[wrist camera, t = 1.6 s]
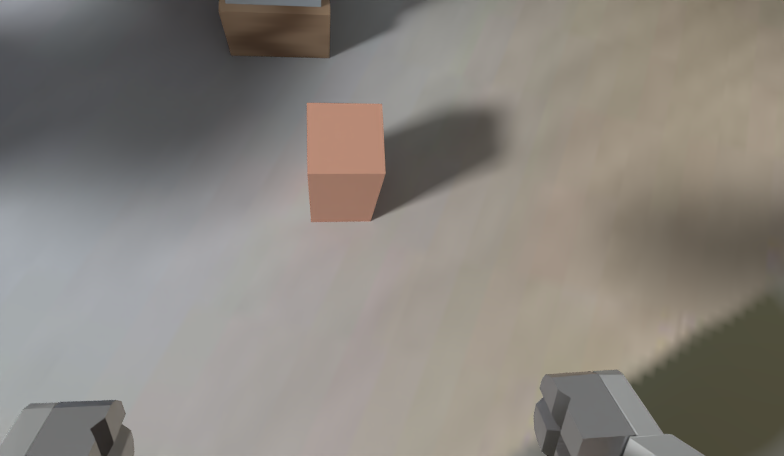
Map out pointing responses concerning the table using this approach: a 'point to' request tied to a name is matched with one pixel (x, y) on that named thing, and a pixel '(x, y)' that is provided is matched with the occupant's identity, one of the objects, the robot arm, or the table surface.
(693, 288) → the table surface
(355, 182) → the post
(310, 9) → the tower base
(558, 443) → the robot arm
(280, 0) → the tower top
